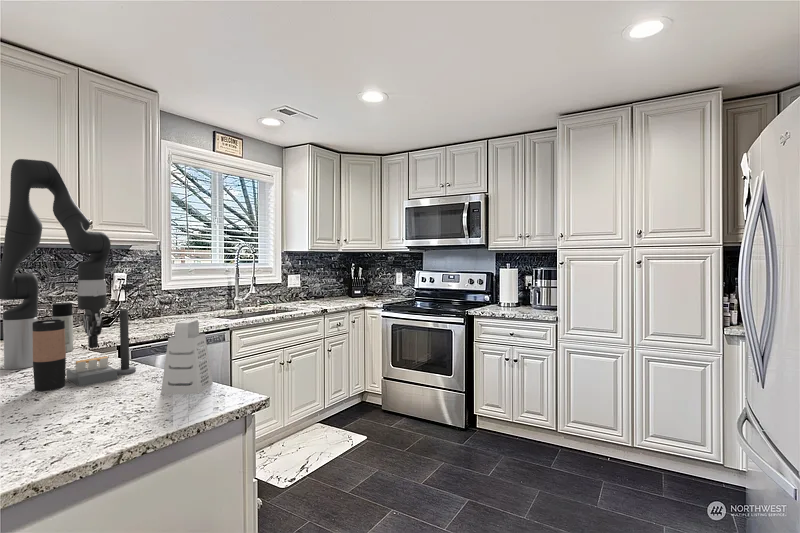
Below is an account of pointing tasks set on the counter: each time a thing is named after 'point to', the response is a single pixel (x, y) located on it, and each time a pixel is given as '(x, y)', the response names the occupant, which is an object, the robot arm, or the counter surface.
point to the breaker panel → (91, 375)
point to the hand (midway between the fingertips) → (93, 347)
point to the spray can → (65, 313)
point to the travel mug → (49, 354)
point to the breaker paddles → (91, 363)
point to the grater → (186, 360)
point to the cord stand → (124, 345)
